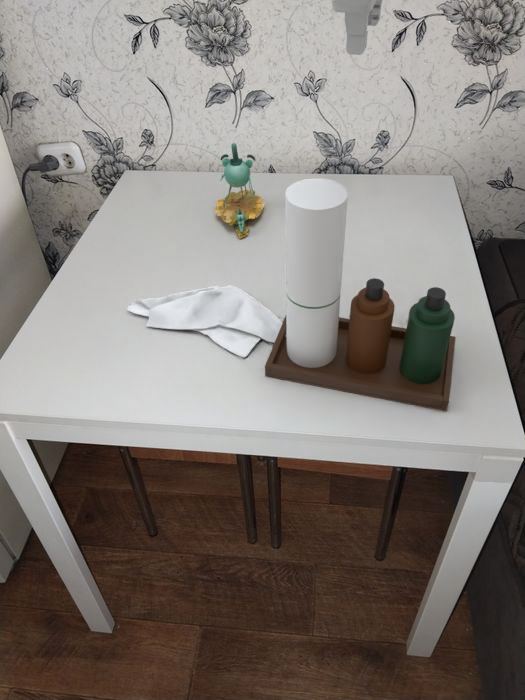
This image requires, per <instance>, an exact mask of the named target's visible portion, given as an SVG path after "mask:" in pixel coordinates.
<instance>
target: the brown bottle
mask: <svg viewBox="0 0 525 700" xmlns="http://www.w3.org/2000/svg"><path fill="white" fill-rule="evenodd" d="M349 308H350V310H349V318H348V319H349V330H348V341H347V352H346V361H347V364H348V365H349V366H350V367H351V368H352V369H353V370H355V371H357V372H360V373H365V374H371V373H376V372H378V371H380V370H382V369H383V368H384V366H385V364H386V359H387V353H388V347H389V340H390V334H391V328H392V326H393V322H394V314H395V308H396V307H395V302H394V301H393V299H391V296H390V293H389V292H388V291H387V290H386V289H385V283H384V281H383V280H382V279H380V278H375V277H373V278H369V279H368V280H367V281H366V283H365V287H363V288H361V289H360V290H359V291H358V292H357V294H356V295H355V296H354V297H353V298H352V299H351V301H350V307H349Z"/></svg>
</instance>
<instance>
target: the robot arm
mask: <svg viewBox="0 0 525 700" xmlns="http://www.w3.org/2000/svg"><path fill="white" fill-rule="evenodd" d="M331 4H332V10H333V11H334V12H335V13H342V14H343V13H344V25H345V32H346V44H345V45H346V48H345V50H346V53H347V54H349V55H353V56H354V55H355V56H356V55H357V56H360V55H363V54H364V53H365V51H366V48H367V43H368V42H367V41H368V26H369V27H370V26H371V27H375V26H377V25H378V23H379V21H380V20H381V12H382V4H383V0H331Z"/></svg>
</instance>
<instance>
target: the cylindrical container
mask: <svg viewBox="0 0 525 700" xmlns="http://www.w3.org/2000/svg"><path fill="white" fill-rule="evenodd" d="M284 195H285V196H284V197H285V206H284V207H285V306H286V307H285V310H286V311H285V312H286V314H285V316H286V326H287V354H288V356H289V358H290V359H291V360H292V361H293V362H294V363H296V364H298V365H300V366H303V367H308V368H316V367H321V366H324V365H326V364H328V363H330V362H331V361H332V360H333V359H334V357H335V355H336V349H337V336H338V322H339V317H340V308H341V307H340V306H341V295H342V293H341V292H342V281H343V279H342V278H343V268H344V267H343V266H344V265H343V264H344V254H345V253H344V252H345V240H346V239H345V237H346V224H347V214H348V213H347V210H348V198H349V193H348V189H347V188H346V187H345V186H344V185H343V184H341V183H339V182H337V181H335V180H332V179H328V178H320V177H319V178H318V177H314V178H312V177H311V178H305V179H302V180H297V181H295V182H293V183H292V184H290V185H289V186H288V187H287V188H286V189H285V193H284Z"/></svg>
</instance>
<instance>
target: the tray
mask: <svg viewBox="0 0 525 700" xmlns="http://www.w3.org/2000/svg"><path fill="white" fill-rule="evenodd" d="M349 319H350V318H345V317H340V316H339V322H338V336H337V349H336V355H335V357H334V359H333V360H332V361H331V362H330V363H328V364H326V365H324V366H321V367H316V368H308V367H303V366H300V365H298V364H296V363H294V362H293V361H292V360H291V359H290V358H289V356H288V354H287V337H286V334H287V326H286V315H285V316H284V319H283V320H282V321H283V323H282V326H281V328H280V331H279V333H278V336H277V338H276V340H275V343H273V345H272V348H271V350H270V352H269V355H268V357H267V360H266V362H265V365H264V376H265V377H268V378H273V379H279V380H284V381H289V382H293V383H294V382H295V383H298V384H305V385H309V386H314V387H318V388H319V387H320V388H325V389H330V390H333V391H334V390H336V391H340V392H345V393H350V394H356V395H361V396H366V397H371V398H376V399H381V400H386V401H391V402H396V403H402V404H405V405H407V404H408V405H411V406H412V405H413V406H416V407H423V408H427V409H431V410H437V411H443V412H447V411H448V407H449V404H450V399H451V398H450V397H451V389H452V388H451V387H452V380H453V379H452V378H453V377H452V376H453V367H454V356H455V349H456V348H455V346H456V337H457V336H455V335H450V339H449V343H448V347H447V351H446V355H445V359H444V363H443V367H442V371H441V375H440V377H439V378H438V379H437V380H436V381H434V382H432V383H429V384H418V383H414V382H411V381H409V380H408V379H406V378H405V377H404V376H403V375H402V374H401V372H400V361H401V355H402V350H403V344H404V339H405V333H406V328H407V327H400V326H394V325H392V328H391V334H390V340H389V347H388V353H387V359H386V364H385V366H384V368H383V369H382V370H380V371H378V372H376V373H371V374H365V373H360V372H357V371H355V370H353V369H352V368H351V367H350V366H349V365H348V364H347V361H346V352H347V341H348V330H349Z"/></svg>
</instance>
